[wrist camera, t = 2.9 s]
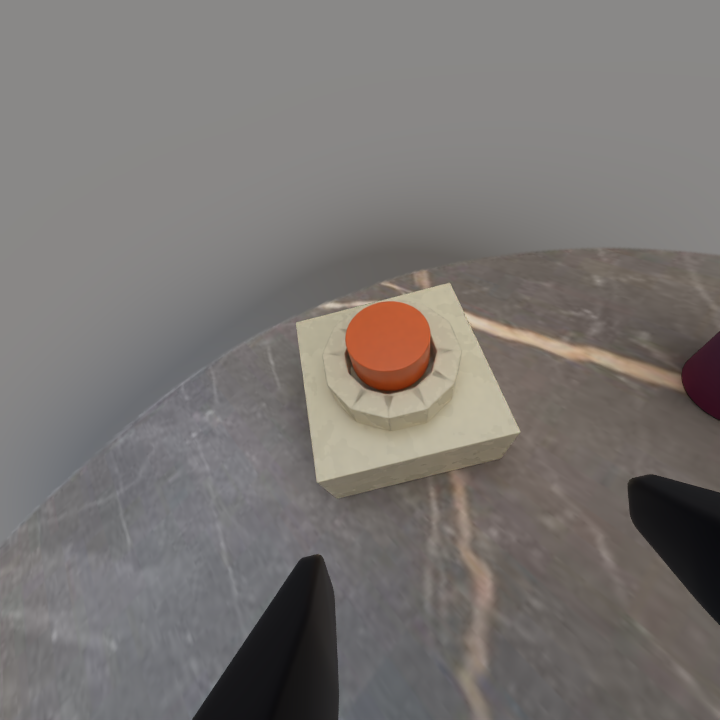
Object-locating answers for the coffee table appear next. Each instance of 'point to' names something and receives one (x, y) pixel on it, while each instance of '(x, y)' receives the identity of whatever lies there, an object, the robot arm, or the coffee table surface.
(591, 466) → the coffee table surface
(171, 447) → the coffee table surface
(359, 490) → the beige button housing
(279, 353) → the coffee table surface
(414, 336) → the power button
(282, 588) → the robot arm
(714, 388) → the cup
